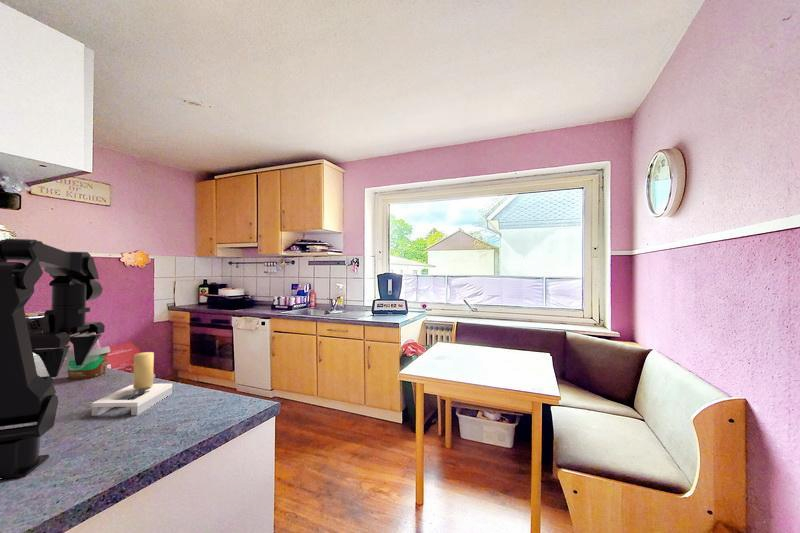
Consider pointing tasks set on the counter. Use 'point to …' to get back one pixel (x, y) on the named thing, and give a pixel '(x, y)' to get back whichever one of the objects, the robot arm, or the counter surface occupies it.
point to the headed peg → (143, 372)
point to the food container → (88, 364)
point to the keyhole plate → (137, 405)
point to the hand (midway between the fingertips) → (67, 370)
